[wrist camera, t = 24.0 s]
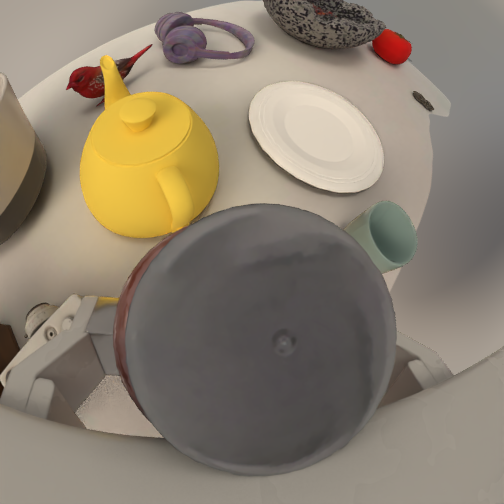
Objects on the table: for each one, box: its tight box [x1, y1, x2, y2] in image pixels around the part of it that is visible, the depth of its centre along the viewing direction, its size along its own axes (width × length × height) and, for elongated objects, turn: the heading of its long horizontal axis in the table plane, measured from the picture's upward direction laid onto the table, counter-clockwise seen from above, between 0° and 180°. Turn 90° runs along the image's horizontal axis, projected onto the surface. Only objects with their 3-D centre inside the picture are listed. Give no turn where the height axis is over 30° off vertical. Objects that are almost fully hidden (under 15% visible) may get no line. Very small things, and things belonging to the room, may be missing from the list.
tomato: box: [372, 29, 412, 64], centre depth 57 cm, size 12×13×12 cm
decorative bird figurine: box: [66, 44, 153, 106], centre depth 32 cm, size 3×18×10 cm, turn 146°
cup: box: [343, 201, 417, 274], centre depth 32 cm, size 8×8×10 cm
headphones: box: [155, 12, 254, 64], centre depth 42 cm, size 18×8×20 cm
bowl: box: [263, 0, 386, 49], centre depth 47 cm, size 31×31×15 cm
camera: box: [0, 294, 83, 387], centre depth 21 cm, size 14×8×10 cm, turn 135°
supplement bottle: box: [113, 203, 397, 476], centre depth 9 cm, size 6×6×11 cm
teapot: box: [80, 55, 219, 238], centre depth 27 cm, size 25×18×14 cm
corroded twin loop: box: [413, 91, 434, 111], centre depth 57 cm, size 5×8×1 cm, turn 52°
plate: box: [248, 81, 384, 193], centre depth 41 cm, size 25×25×2 cm
